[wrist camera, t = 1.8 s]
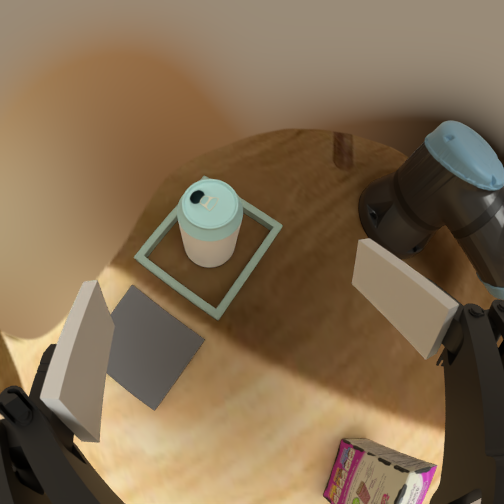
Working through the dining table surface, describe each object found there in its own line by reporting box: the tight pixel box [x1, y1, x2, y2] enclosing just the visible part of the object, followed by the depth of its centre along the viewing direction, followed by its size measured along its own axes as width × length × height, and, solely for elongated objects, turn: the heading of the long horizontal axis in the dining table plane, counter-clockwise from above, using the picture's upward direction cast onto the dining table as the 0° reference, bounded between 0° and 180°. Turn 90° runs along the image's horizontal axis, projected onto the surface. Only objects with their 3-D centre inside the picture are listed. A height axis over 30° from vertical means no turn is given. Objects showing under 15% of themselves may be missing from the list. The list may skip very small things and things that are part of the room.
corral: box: [134, 176, 283, 321], centre depth 37 cm, size 16×14×2 cm
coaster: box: [106, 285, 205, 411], centre depth 32 cm, size 12×12×1 cm
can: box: [177, 179, 243, 268], centre depth 32 cm, size 7×7×12 cm
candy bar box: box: [323, 439, 437, 504], centre depth 22 cm, size 11×5×16 cm, turn 167°
